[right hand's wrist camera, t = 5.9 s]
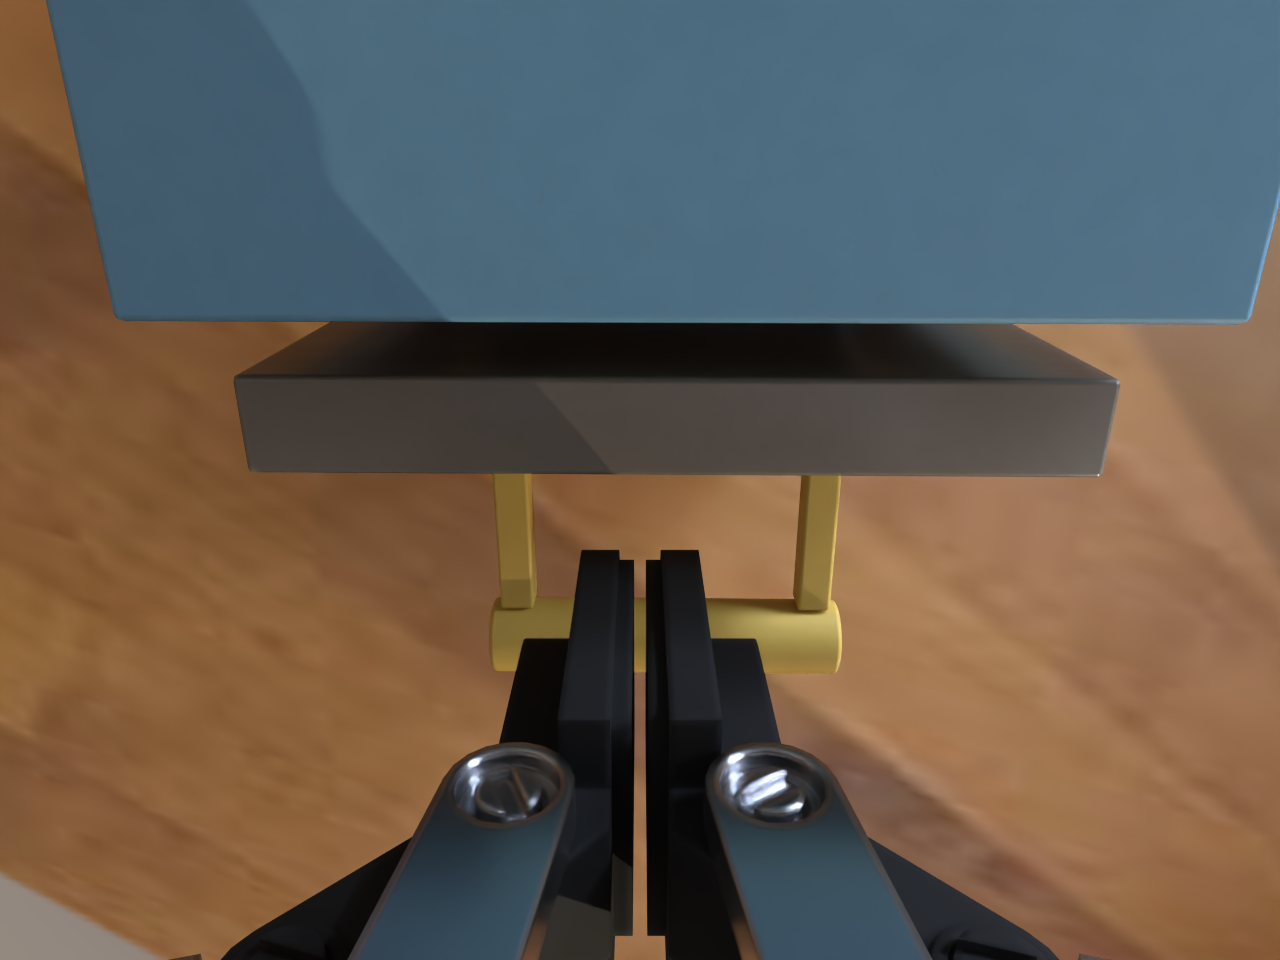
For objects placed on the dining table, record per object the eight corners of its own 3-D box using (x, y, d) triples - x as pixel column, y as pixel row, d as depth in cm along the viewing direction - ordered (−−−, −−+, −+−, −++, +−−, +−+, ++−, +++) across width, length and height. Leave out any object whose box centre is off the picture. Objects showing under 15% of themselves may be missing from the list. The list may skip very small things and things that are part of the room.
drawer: (868, 549, 22) (1026, 857, 12) (457, 546, 22) (311, 847, 13) (980, -526, 14) (1544, -1684, 5) (369, -518, 15) (-119, -1630, 5)
